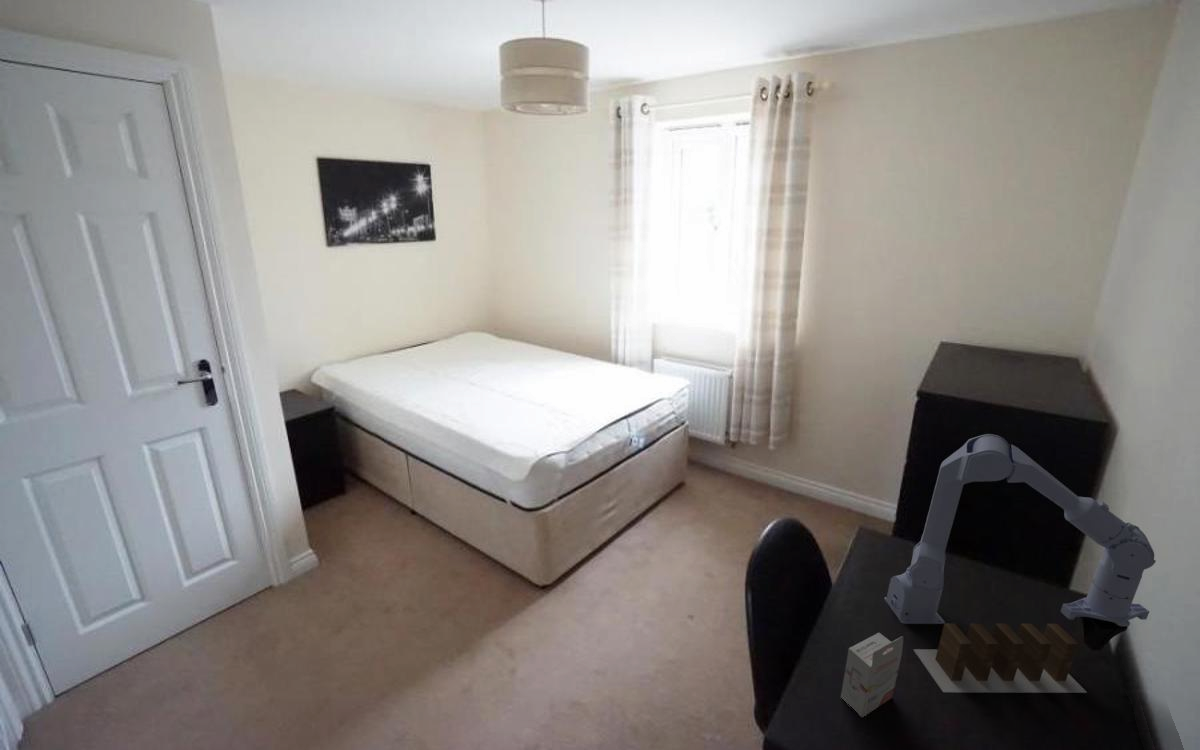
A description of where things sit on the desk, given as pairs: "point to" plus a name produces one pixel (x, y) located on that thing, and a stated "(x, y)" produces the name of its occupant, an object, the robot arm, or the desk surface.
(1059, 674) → the brown wooden block
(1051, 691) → the mat
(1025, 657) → the domino
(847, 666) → the ink cartridge box
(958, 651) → the domino
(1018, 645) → the domino
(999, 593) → the desk surface
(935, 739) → the desk surface
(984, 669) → the domino
